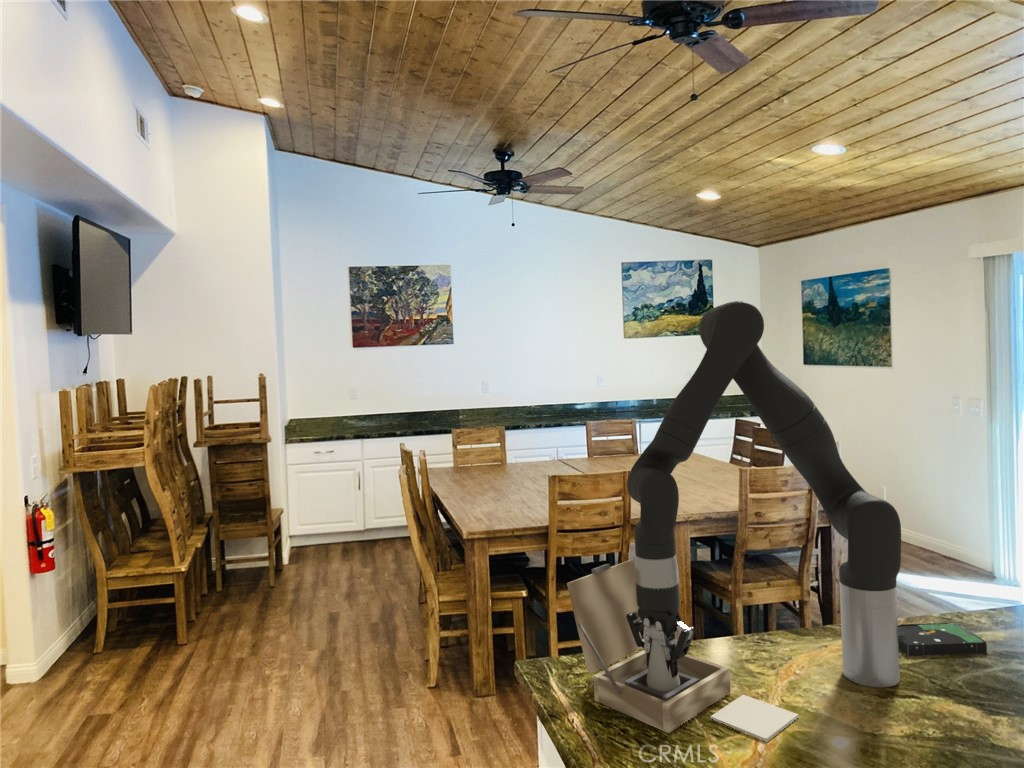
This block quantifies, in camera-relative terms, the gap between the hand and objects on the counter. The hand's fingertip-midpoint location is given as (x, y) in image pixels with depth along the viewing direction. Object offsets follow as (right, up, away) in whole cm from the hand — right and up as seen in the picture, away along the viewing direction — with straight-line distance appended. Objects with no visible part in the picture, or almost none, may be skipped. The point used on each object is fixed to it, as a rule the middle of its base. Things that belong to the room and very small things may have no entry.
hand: (662, 674), depth 126 cm
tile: (+13, -4, -9) cm, 16 cm away
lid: (-8, +9, +7) cm, 14 cm away
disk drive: (+57, -1, +15) cm, 59 cm away
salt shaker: (0, -4, 0) cm, 4 cm away
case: (-1, -4, +1) cm, 4 cm away
